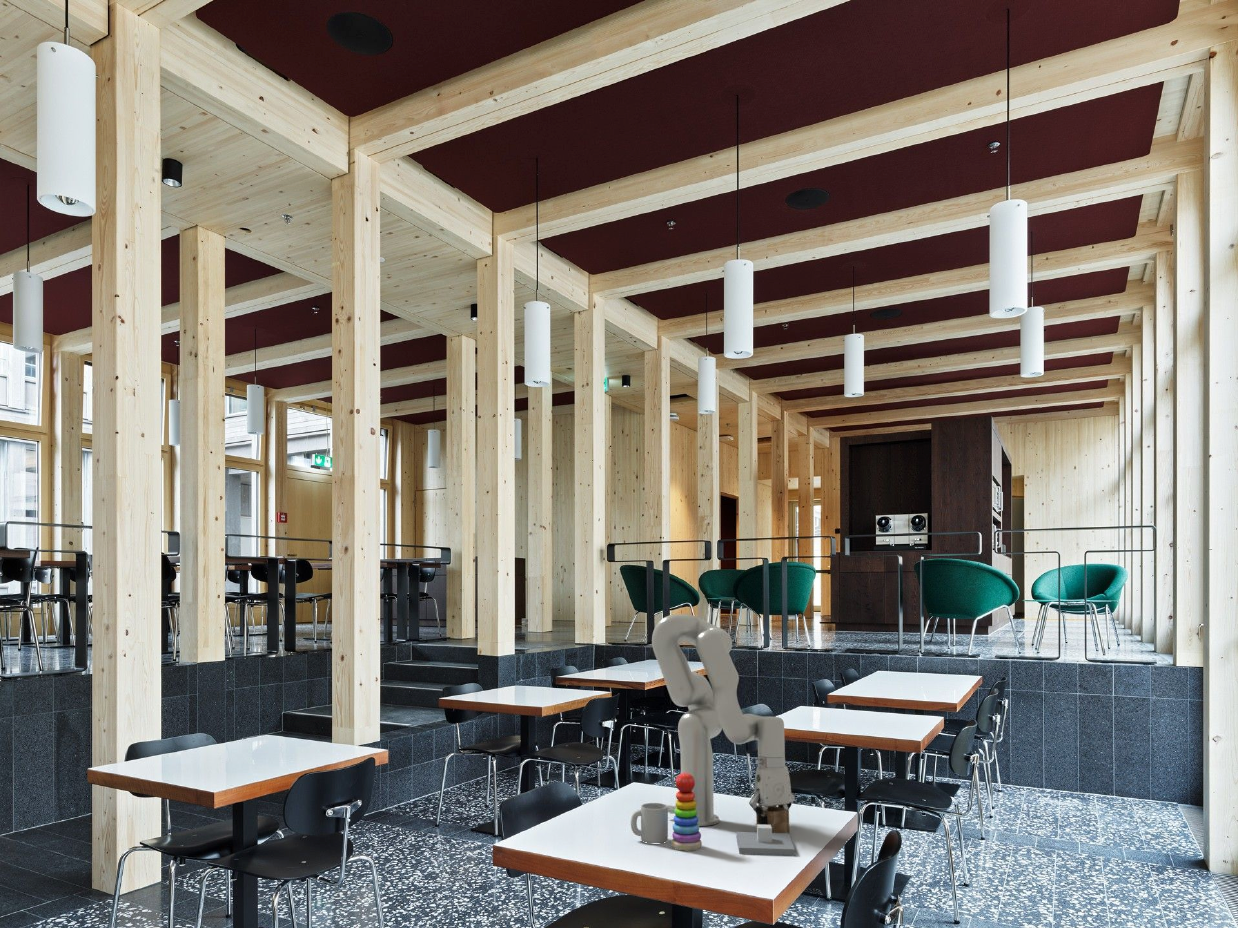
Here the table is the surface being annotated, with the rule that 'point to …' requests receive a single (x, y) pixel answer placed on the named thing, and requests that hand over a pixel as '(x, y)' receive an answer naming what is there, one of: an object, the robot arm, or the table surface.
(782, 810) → the wooden cube shelf
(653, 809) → the cup
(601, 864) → the table surface
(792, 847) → the board
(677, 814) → the stacking toy
